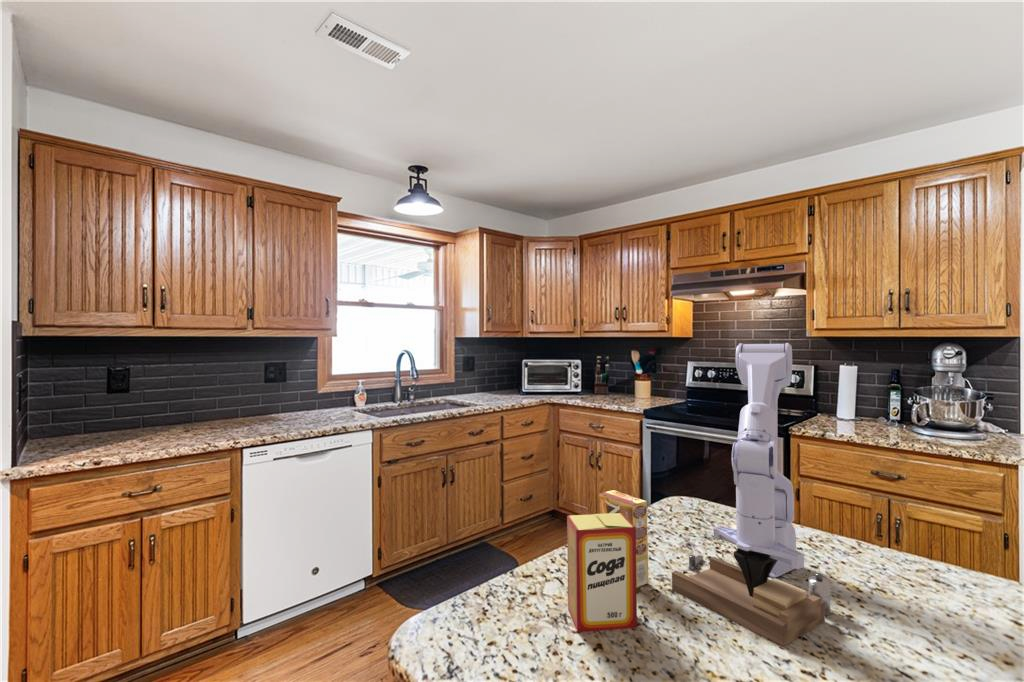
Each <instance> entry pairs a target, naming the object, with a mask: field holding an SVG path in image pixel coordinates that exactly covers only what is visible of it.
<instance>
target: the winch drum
mask: <svg viewBox="0 0 1024 682" xmlns="http://www.w3.org/2000/svg"><path fill="white" fill-rule="evenodd" d="M823 574H824V573H821V572H815V575H810V576H809V577H808V596H811V595H815V596H817V597H820V598H821V601H823V602H825V617H826V616H830V615H831V581H830V580H829V579H828V578H825V577H824V576H823Z"/></svg>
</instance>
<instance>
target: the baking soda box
mask: <svg viewBox="0 0 1024 682" xmlns="http://www.w3.org/2000/svg"><path fill="white" fill-rule="evenodd" d="M566 524H567V525H566V532H567V533H566V536H567V537H566V539H567V541H566V542H567V545H566V546H567V547H566V548H567V550H566V551H567V555H566V556H567V610H568V612H569V614H570V618H571V620H572V623H573V625H574V627H575V630H576V633H583V632H584V633H585V632H596V631H613V630H624V629H637V628H638V620H637V619H638V607H637V603H638V602H637V600H638V599H637V597H638V596H637V594H638V593H637V588H636V527H635V526H634V525H633V524H632V523H631V522H630V521H629V520H628V519H627V518H626V517H625V516H624V515H623V514H622V513H608V514H600V513H594V514H577V515H576V514H575V515H574V514H573V515H567V516H566Z"/></svg>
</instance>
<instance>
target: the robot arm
mask: <svg viewBox="0 0 1024 682" xmlns="http://www.w3.org/2000/svg"><path fill="white" fill-rule="evenodd" d="M792 347H793V346H792V345H791V344H790V343H789V342H785V343H743V342H742V343H741V342H739V343H738V345H737V346H736V349H735V368H736V372H737V375H738V380H740V383H741V385H744V386H746V387H747V398H748V399H747V400H748V401H747V403H748V404H745V405H744V406H743V407H742V408H741V410H740V412H739V422H738V431H737V439H736V440H737V441H734V442H733V444H732V450H731V467H732V471H733V472H732V473H733V482H734V483H733V484H734V485H735V500H736V501H735V509H736V510H735V511H736V515H735V516H736V517H735V518H736V519H735V520H736V521H735V522H736V529H735V528H731V527H728V526H727V527H726V526H723V525H717V526H714V527H713V539H715V540H717V541H720V540H721V541H724V542H728V543H730V544H732V545H734V546H735V545H736V548H737V549H736V550H734V551H733V557H734V560H736V563H737V564H738V565H739V566H738V567H740V568H741V570H742V572H743V575H744V578H745V581H746V584H747V588H748V592H749V596H751V597H753V592H754V588H755V587H757V586H759V585H761V584H764V583H766V582H767V580H768V579H769V577H771V578H773V579H774V578H775V579H777V578H779V577H780V576H782V575H784V574H787V573H789V572H790V571H793V570H799V569H801V568H803V567H805V554H804V553H802V552H800V551H798V550H797V533H796V529H795V527H794V525H793V524H792V523H793V522H794V521H795V493H794V485H793V484H792V481H791V480H790V479H789V478H787V477H786V476H784V474H782V473H781V472H780V471H779V469H778V399H779V395H780V393H781V390H782V389H784V388H786V387H789V386H791V381H792V380H793V376H792V375H793V348H792ZM775 487H776V488H775ZM777 487H778V488H777ZM753 598H754V597H753Z"/></svg>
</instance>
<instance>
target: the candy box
mask: <svg viewBox="0 0 1024 682" xmlns="http://www.w3.org/2000/svg"><path fill="white" fill-rule="evenodd" d="M598 496H599V500H598V501H599V514H608V513H622V514H623V515H624V516H625V517H626V518H627V519H628V520H629V521H630V522H631V523H632V524H633V525H634V526H635V527H636V589H637V588H641V586H644V585H645V586H646V584H649V546H648V545H649V543H648V542H649V541H648V540H649V539H648V537H649V536H648V501H647V500H644V499H641V498H639V497H636V496H632V495H630V494H626V493H623V492H620V491H618V490H614V489H613V490H608V491H604V492H600V493H599V494H598Z"/></svg>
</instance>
